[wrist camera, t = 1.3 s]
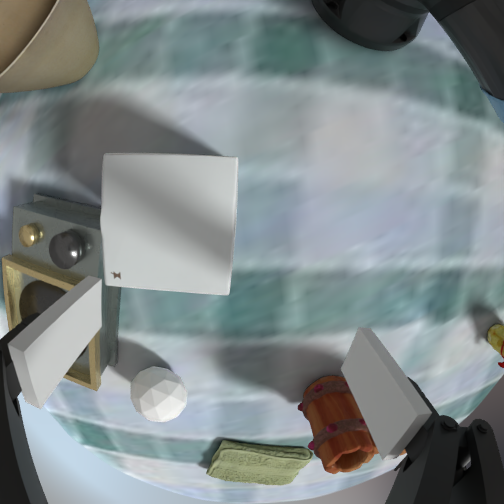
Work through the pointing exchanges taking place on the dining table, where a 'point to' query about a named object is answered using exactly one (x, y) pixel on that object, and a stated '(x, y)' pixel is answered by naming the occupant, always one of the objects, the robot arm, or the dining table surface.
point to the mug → (337, 425)
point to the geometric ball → (158, 394)
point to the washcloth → (258, 463)
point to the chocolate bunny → (497, 339)
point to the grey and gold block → (60, 274)
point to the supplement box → (169, 221)
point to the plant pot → (45, 43)
